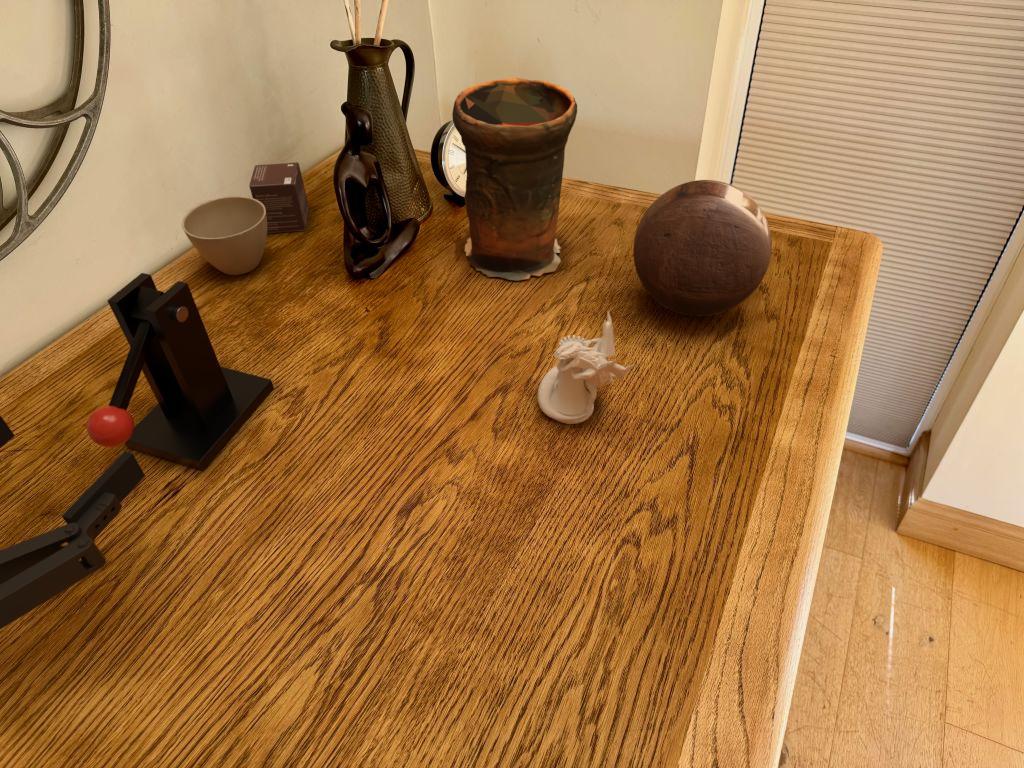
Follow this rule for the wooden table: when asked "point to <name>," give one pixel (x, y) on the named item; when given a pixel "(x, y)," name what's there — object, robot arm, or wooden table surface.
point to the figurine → (579, 376)
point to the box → (281, 196)
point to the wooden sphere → (702, 248)
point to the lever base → (185, 380)
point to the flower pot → (228, 232)
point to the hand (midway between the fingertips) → (68, 442)
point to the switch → (125, 381)
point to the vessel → (514, 173)
